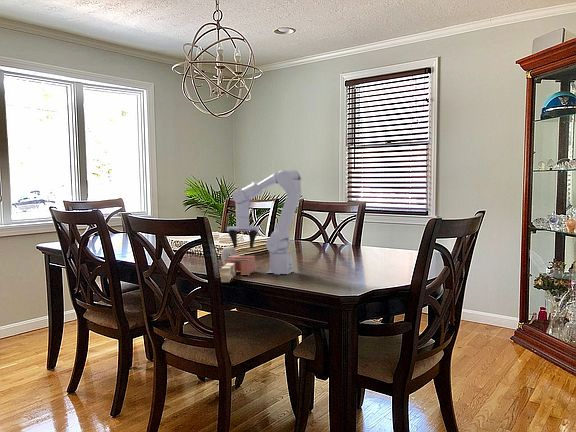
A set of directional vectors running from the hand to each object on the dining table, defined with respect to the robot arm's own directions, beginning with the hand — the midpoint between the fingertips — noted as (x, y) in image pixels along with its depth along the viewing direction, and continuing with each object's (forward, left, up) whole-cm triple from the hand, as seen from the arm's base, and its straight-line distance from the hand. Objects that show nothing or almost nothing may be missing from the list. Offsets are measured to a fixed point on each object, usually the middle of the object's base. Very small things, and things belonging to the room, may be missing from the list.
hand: (243, 247), depth 215 cm
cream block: (-4, +20, -10) cm, 23 cm away
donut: (+8, -1, -10) cm, 13 cm away
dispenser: (-3, +9, -10) cm, 14 cm away
